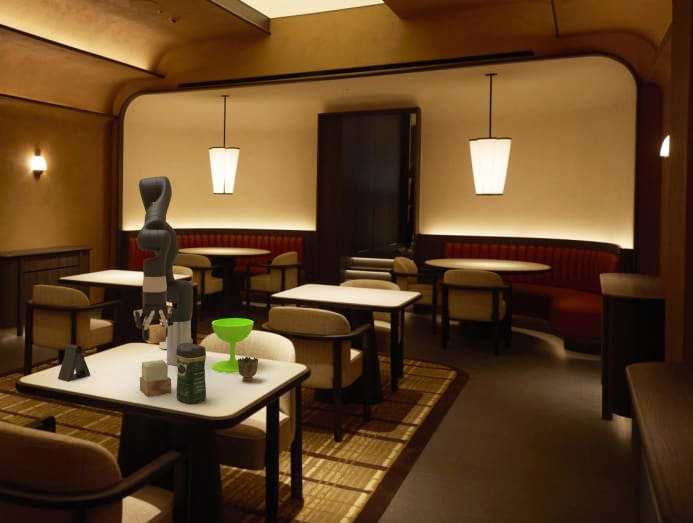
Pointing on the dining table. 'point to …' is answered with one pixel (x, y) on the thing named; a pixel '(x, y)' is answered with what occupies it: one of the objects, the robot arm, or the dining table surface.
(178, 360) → the coffee jar
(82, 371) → the dark grey a-frame stand
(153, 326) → the tan wooden cube
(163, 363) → the sage top block
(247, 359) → the cup
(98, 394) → the dining table surface
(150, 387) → the walnut base block
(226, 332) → the wineglass
